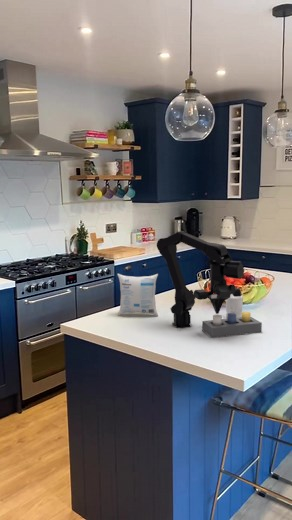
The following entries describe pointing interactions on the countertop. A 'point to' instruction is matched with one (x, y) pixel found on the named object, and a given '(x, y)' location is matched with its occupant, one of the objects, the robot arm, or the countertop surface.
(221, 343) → the countertop surface
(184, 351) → the countertop surface
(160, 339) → the countertop surface
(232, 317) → the navy key
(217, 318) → the white key
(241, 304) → the white cup
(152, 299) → the pouch
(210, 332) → the key block
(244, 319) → the ochre key
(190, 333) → the countertop surface
